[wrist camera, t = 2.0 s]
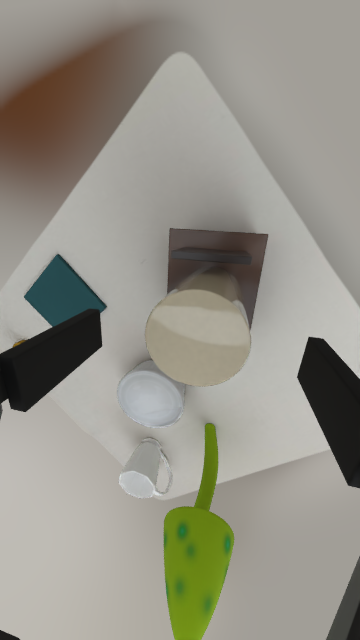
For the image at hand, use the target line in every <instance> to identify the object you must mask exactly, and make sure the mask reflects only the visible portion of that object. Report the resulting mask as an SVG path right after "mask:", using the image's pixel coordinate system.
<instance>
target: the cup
mask: <svg viewBox="0 0 360 640" xmlns="http://www.w3.org/2000/svg"><path fill="white" fill-rule="evenodd" d="M160 450H161V445H160V444H159V442H158V441H157V440H155V439H152V438H146V439H143V440H142V444H140V445H139V446H138V448H137V449H136V450H135V451H134V453H133V454H132V456H131V458H130V459H129V461H128V462H127V464H126V465H125V467H124V469H123V470H122V472H121V474H120V477H119V481H118V483H119V484H120V485H121V487H122V488H123V489H124V491H125V492H126V493H128V494H130V495H133V496H135V497H137V498H147V497H152V496H153V493H154V494H156V495H158V496H162V495H164V494H165V493H167V492H168V491H169V489H170V487H171V484H172V476H173V475H172V471H171V468H170V466H169V464H168V461H167V459H166V458H165V456H164V454H163V453H162V452H161V451H160ZM160 457H161V458H162V460H163V462H164V464H165V466H166V469H167V471H168V474H169V483H168V486H167V488H166V490H165V492H160V491H159V490H158V489H157V488H156V482H157V476H158V469H159V463H160Z"/></svg>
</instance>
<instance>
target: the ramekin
mask: <svg viewBox="0 0 360 640" xmlns="http://www.w3.org/2000/svg"><path fill="white" fill-rule="evenodd" d="M117 397H118V401H119V404H120V406H121V408H122V409H123V411H124V412H125V413H126V415H128V416H129V417H130V418H131V419H132V420H134V421H135V422H137V423H139V424H141V425H143V426H147V427H151V428H165V427H168V426H171V425H173V424H174V423H176V422H177V421H178V420H179V419H180V417H181V415H182V413H183V410H184V403H185V402H184V383H181V382H178V381H176V380H174V379H172V378H171V377H169V376H168V375H166V374H165V373H164V372H163V371H162V370H161V369H159V368H158V366H157V365H156V364H155V363H154V361H153V360H150V361H145V362H142V363H141V364H139V365H138V366H136V367H135V368H134V369H133V370H131V371H130V372H128V373H127V374H126V375H125V376H124V377H123V378H122V379H121V381H120V383H119V385H118V388H117Z"/></svg>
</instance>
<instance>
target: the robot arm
mask: <svg viewBox="0 0 360 640" xmlns="http://www.w3.org/2000/svg"><path fill="white" fill-rule="evenodd" d="M101 347H102V336H101V322H100V310H99V309H91V308H89V309H87V310H85V311H83V312H81V313H79V314H77V315H75V316H73V317H71V318H69V319H67V320H66V321H64V322H62V323H60V324H58V325H56V326H54V327H52V328H50V329H48V330H46V331H44V332H42V333H40V334H38V335H36V336H34V337H33V338H31V339H28V340H26V341H24V342H22V343H20V344H19V345H16V346H15V347H13V348H11V349H9V350H7V351H5V352H3V353H1V354H0V419H1V414H2V405H1V403H2V402H3V401H5V400H6V399H9V403H10V407H11V409H14V410H18V411H23V412H26V411H27V410H29V409H30V408H31V407H32V406H33V405H34V404H36V403H37V402H38V401H39V400H40V399H41V398H42V397H44V396H45V395H46V394H47V393H48V392H50V391H51V390H52V389H53V388H54V387H55V386H56V385H58V384H59V383H60V382H61V381H62V380H63V379H65V378H66V377H67V376H68V375H69V374H70V373H72V372H73V371H74V370H75V369H76V368H77V367H79V366H80V365H81V364H82V363H83V362H84V361H85V360H87V359H88V358H89V357H90V356H91V355H92V354H94V353H95V352H96V351H97V350H98V349H99V348H101ZM297 378H298V380H299V382H300V384H301V387H302V389H303V391H304V393H305V395H306V397H307V399H308V401H309V403H310V406H311V408H312V410H313V412H314V414H315V416H316V418H317V420H318V423H319V425H320V427H321V429H322V431H323V433H324V435H325V437H326V439H327V442H328V444H329V446H330V448H331V450H332V452H333V454H334V456H335V459H336V461H337V463H338V465H339V467H340V469H341V471H342V473H343V475H344V477H345V480H346V482H347V484H348V485H349V486H352V487H357V488H360V379H359V378H358V377H357V376H356V375H355V373H354V372H353V371H352V370H351V369H350V368H349V367H348V366H347V365H346V363H345V362H344V361H343V360H342V359H341V358H340V357H339V356H338V355H337V353H336V352H335V351H334V350H333V349H332V348H331V347H330V346H329V345H328V343H327V342H326V341H325V340H324V339H321V338H314V337H309V338H308V341H307V345H306V348H305V352H304V355H303V358H302V362H301V365H300V369H299V372H298V376H297ZM0 640H20V639H19V638H17V637H15V636H13V635H10V634H8V633H6V632H4V631H1V630H0ZM326 640H360V557H359V559H358V562H357V564H356V567H355V569H354V572H353V574H352V576H351V579H350V581H349V584H348V586H347V589H346V592H345V594H344V596H343V599H342V601H341V604H340V606H339V609H338V611H337V614H336V616H335V619H334V621H333V624H332V626H331V629H330V631H329V634H328V636H327V639H326Z"/></svg>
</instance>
